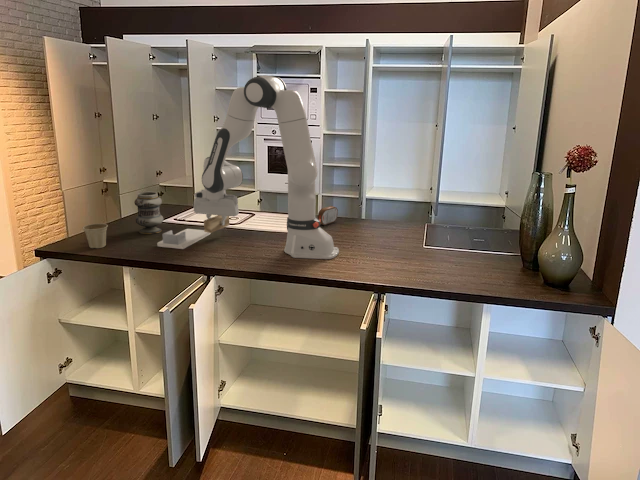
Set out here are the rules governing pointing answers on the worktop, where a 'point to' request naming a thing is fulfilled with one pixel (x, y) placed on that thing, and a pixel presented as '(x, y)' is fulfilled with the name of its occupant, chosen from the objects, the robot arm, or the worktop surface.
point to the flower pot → (96, 235)
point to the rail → (215, 224)
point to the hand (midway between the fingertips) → (217, 224)
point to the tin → (327, 215)
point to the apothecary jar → (149, 212)
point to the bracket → (182, 238)
